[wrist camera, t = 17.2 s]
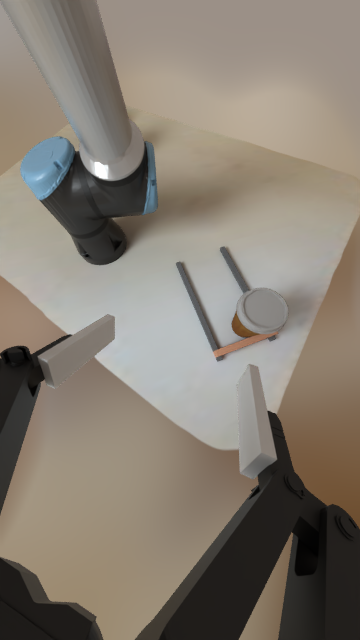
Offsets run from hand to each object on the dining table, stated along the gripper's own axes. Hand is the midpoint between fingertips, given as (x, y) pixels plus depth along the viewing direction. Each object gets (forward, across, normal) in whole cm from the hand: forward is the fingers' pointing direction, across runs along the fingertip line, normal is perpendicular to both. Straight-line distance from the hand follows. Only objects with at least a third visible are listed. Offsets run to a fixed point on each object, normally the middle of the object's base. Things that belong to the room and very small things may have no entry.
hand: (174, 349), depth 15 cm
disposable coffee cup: (+28, +12, -8) cm, 32 cm away
